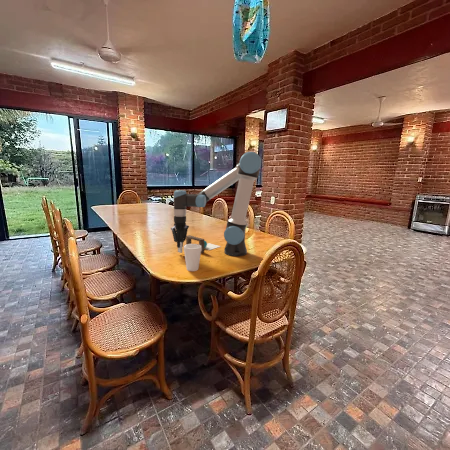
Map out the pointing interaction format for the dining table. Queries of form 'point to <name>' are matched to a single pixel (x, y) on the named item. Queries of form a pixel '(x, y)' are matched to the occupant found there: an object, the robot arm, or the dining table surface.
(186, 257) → the foam cup
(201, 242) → the bridge
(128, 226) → the dining table surface
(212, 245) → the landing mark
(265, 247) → the dining table surface
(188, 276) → the dining table surface
